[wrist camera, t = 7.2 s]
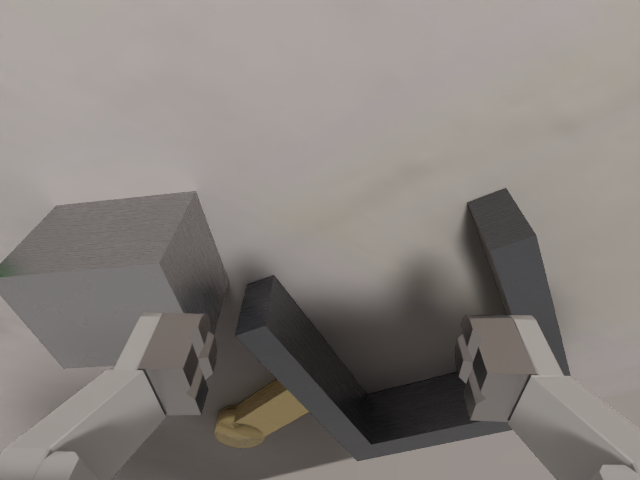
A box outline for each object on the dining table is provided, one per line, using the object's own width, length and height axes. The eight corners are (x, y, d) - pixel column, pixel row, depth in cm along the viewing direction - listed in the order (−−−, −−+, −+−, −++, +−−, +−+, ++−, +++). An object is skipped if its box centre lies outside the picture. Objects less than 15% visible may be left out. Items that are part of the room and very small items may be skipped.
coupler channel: (355, 412, 26) (357, 461, 24) (246, 285, 20) (234, 335, 17) (554, 364, 23) (580, 415, 20) (506, 187, 16) (536, 235, 14)
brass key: (247, 435, 28) (244, 452, 28) (208, 417, 27) (204, 436, 26) (324, 389, 25) (324, 408, 24) (284, 367, 24) (282, 386, 23)
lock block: (110, 289, 20) (63, 368, 17) (58, 203, 17) (-14, 278, 14) (229, 279, 20) (206, 359, 16) (196, 189, 17) (159, 263, 13)
